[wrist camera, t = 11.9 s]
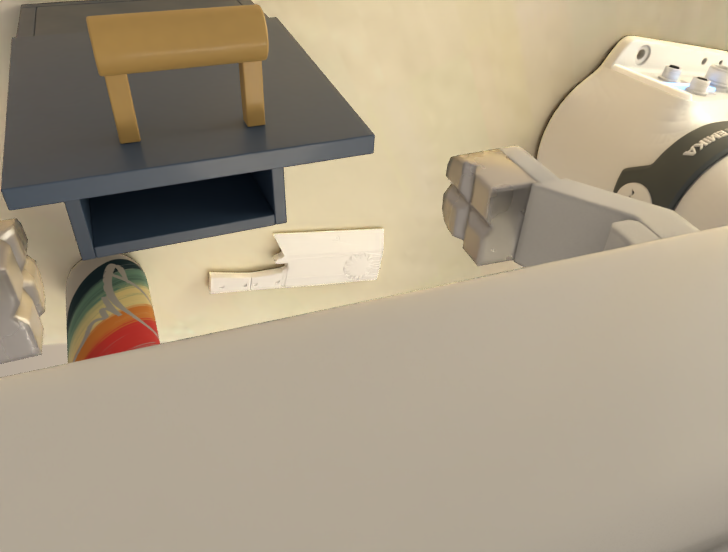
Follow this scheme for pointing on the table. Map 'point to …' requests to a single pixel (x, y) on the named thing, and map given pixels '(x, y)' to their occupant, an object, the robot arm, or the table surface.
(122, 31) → the lid
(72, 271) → the lotion bottle
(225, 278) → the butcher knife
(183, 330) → the table surface
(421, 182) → the table surface
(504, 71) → the table surface
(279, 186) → the chest
